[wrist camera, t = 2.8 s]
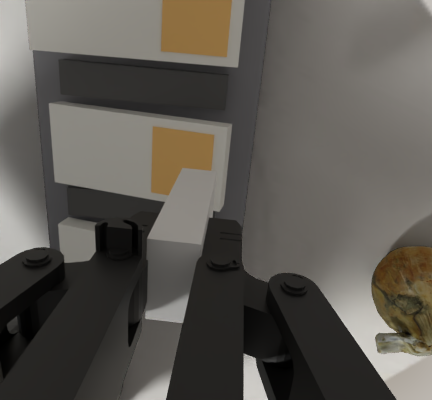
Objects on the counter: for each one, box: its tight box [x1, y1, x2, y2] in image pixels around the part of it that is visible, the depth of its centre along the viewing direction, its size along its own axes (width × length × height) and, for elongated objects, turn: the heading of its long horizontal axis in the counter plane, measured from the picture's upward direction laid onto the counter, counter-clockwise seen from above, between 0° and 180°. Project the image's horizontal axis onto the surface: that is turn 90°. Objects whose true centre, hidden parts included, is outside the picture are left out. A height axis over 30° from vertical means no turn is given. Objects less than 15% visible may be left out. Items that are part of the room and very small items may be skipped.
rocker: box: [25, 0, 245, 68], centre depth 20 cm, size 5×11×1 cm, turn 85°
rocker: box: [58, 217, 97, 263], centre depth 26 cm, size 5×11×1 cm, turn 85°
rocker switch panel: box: [33, 0, 271, 308], centre depth 26 cm, size 26×14×4 cm, turn 175°
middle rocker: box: [49, 101, 232, 212], centre depth 23 cm, size 5×11×1 cm, turn 85°
